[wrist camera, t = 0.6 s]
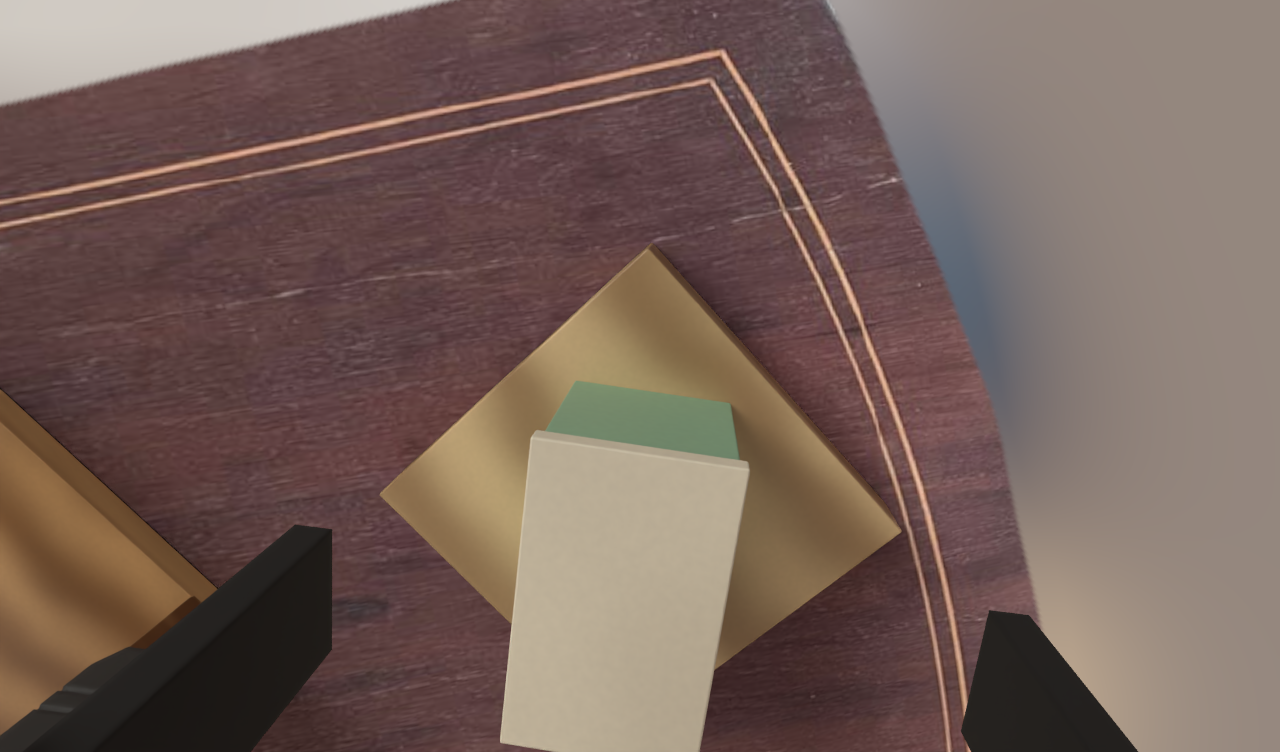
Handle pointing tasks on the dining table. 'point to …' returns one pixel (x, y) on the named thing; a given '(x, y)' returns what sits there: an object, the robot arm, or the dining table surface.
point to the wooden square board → (665, 363)
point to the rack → (73, 569)
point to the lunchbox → (623, 572)
